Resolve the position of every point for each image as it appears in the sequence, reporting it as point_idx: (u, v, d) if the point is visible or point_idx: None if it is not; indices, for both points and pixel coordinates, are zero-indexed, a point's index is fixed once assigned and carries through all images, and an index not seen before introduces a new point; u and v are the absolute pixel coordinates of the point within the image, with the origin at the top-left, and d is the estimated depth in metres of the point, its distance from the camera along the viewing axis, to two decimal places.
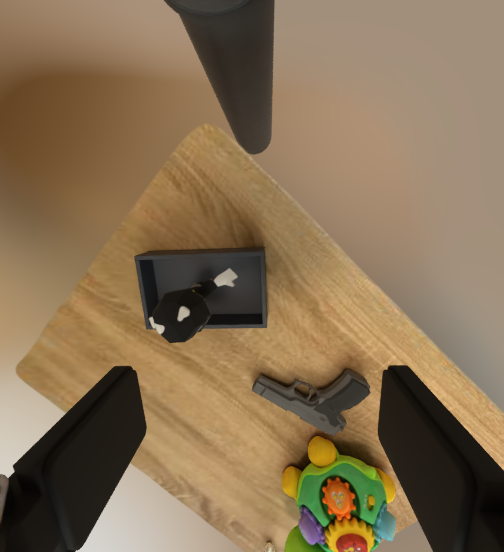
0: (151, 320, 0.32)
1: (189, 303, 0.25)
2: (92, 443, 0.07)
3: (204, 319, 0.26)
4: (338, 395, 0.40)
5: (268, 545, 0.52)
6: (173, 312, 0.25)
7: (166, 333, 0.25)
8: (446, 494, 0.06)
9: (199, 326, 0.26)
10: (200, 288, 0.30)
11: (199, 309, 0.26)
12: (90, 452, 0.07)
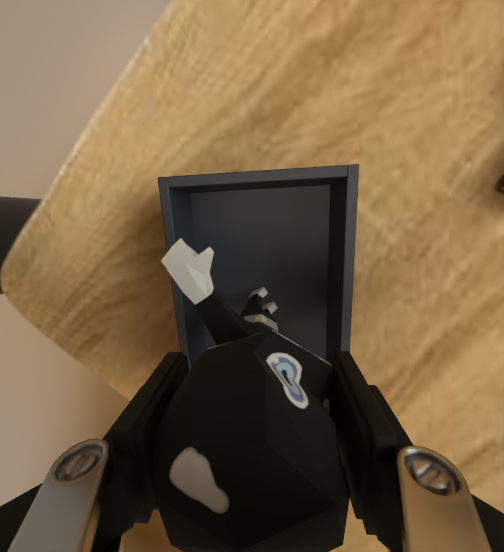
0: None
1: (174, 431, 0.06)
2: None
3: (255, 373, 0.06)
4: None
5: None
6: (190, 518, 0.06)
7: None
8: (356, 452, 0.07)
9: (274, 407, 0.06)
10: (217, 339, 0.11)
11: (206, 393, 0.06)
12: None
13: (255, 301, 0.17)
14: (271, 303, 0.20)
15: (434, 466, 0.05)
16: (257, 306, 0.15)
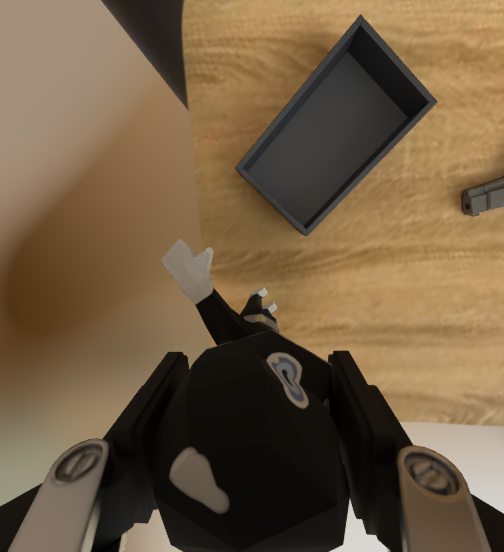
0: None
1: (175, 431, 0.06)
2: None
3: (255, 373, 0.06)
4: None
5: None
6: (191, 518, 0.06)
7: None
8: (356, 452, 0.07)
9: (274, 407, 0.06)
10: (217, 339, 0.11)
11: (206, 393, 0.06)
12: None
13: (255, 301, 0.17)
14: (271, 303, 0.20)
15: (434, 466, 0.05)
16: (257, 306, 0.15)
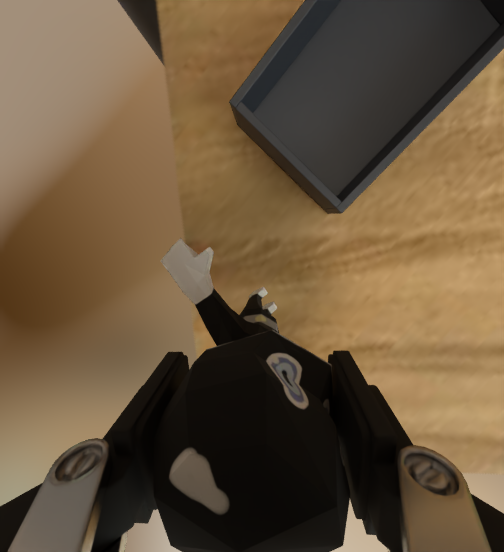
0: None
1: (174, 431, 0.06)
2: None
3: (255, 374, 0.06)
4: None
5: None
6: (190, 519, 0.06)
7: None
8: (356, 452, 0.07)
9: (274, 408, 0.06)
10: (217, 339, 0.11)
11: (206, 394, 0.06)
12: None
13: (255, 301, 0.17)
14: (271, 303, 0.20)
15: (434, 466, 0.05)
16: (257, 306, 0.15)
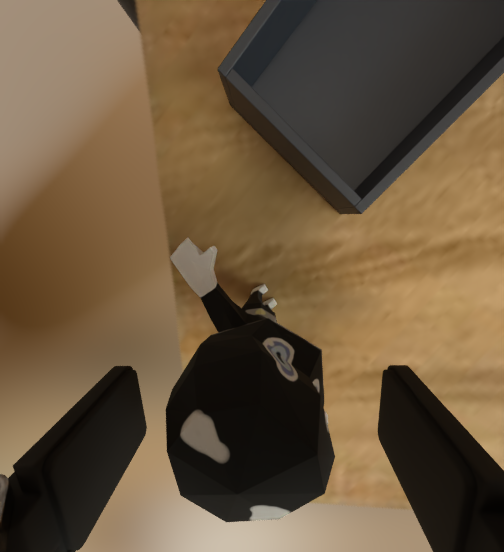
0: None
1: (184, 399, 0.07)
2: (92, 443, 0.07)
3: (252, 352, 0.07)
4: None
5: None
6: (198, 469, 0.07)
7: (286, 501, 0.07)
8: (446, 494, 0.06)
9: (267, 378, 0.07)
10: (220, 329, 0.13)
11: (211, 368, 0.07)
12: (90, 452, 0.07)
13: (256, 297, 0.18)
14: (271, 299, 0.21)
15: None
16: (257, 301, 0.16)
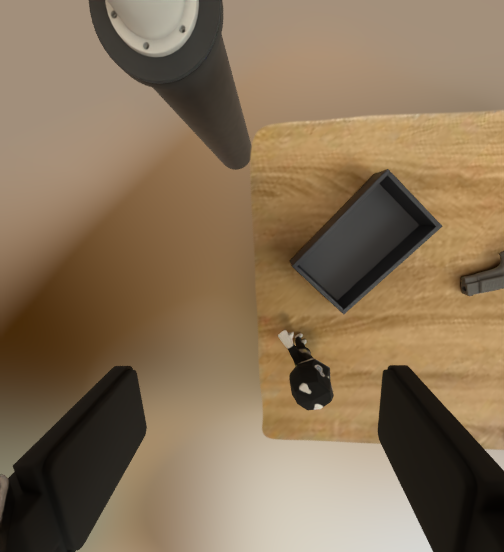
0: None
1: (298, 381, 0.31)
2: (92, 443, 0.07)
3: (313, 369, 0.31)
4: None
5: None
6: (303, 395, 0.31)
7: (322, 403, 0.31)
8: (446, 494, 0.06)
9: (318, 376, 0.31)
10: (294, 359, 0.37)
11: (304, 373, 0.31)
12: (90, 452, 0.07)
13: (300, 341, 0.42)
14: (304, 340, 0.45)
15: None
16: (302, 345, 0.40)
